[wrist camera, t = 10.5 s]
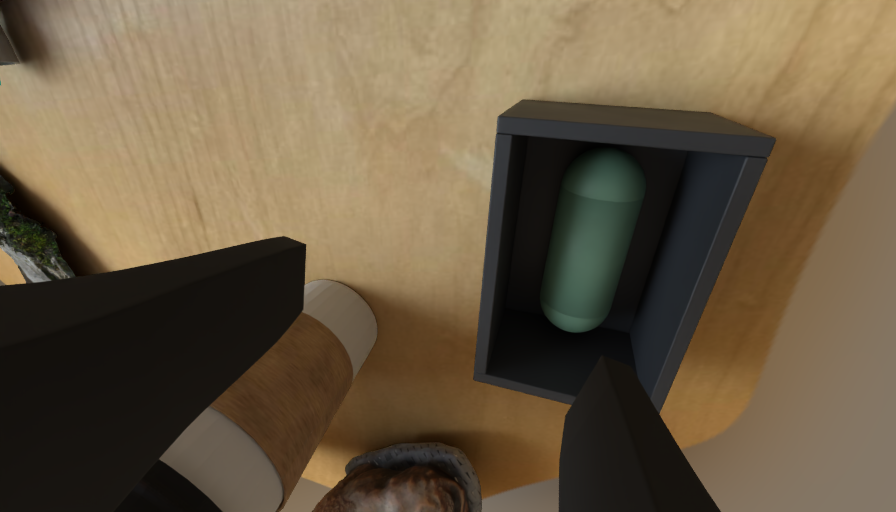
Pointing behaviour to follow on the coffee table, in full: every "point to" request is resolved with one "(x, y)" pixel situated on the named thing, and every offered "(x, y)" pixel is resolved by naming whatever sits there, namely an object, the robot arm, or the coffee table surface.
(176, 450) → the coffee cup
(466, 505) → the bison figurine
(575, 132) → the bin
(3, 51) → the toy gun
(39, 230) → the rock
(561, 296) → the green medicine capsule
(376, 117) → the coffee table surface
